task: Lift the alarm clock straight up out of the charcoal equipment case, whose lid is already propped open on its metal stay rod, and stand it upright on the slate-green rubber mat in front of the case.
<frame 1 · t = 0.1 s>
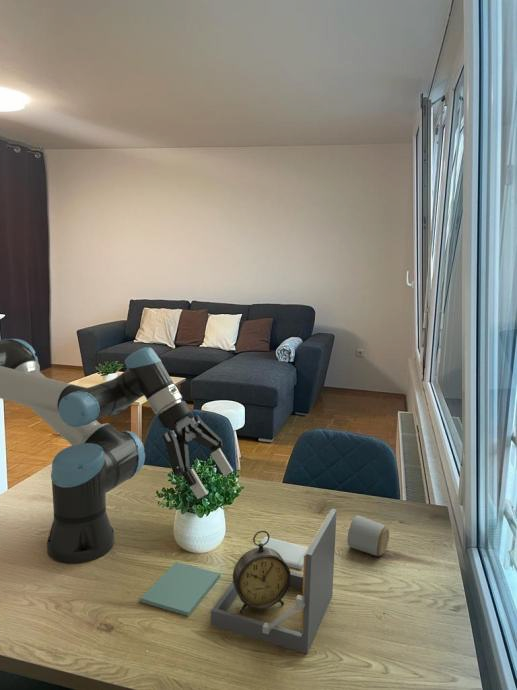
hand: (216, 484, 128), 15 cm above the table, tool tilted 35°, fingers open, 13 cm apart
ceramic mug: (368, 548, 131), on the table
alarm clock: (260, 606, 108), resting in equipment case
rubber mat: (181, 588, 113), on the table
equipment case: (274, 609, 107), on the table
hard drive: (282, 556, 127), on the table
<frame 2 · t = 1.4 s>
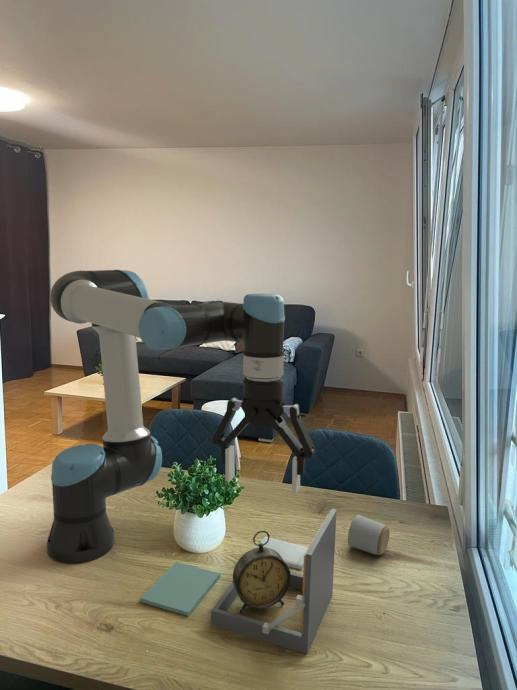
hand: (262, 484, 105), 25 cm above the table, tool pointing down, fingers open, 13 cm apart
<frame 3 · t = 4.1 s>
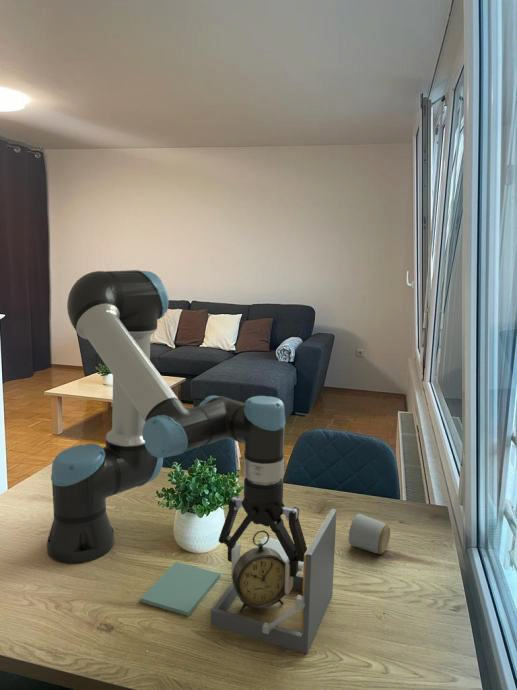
hand: (261, 582, 107), 5 cm above the table, tool pointing down, fingers closed on alarm clock, 11 cm apart
alarm clock: (259, 606, 108), resting in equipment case, touching gripper
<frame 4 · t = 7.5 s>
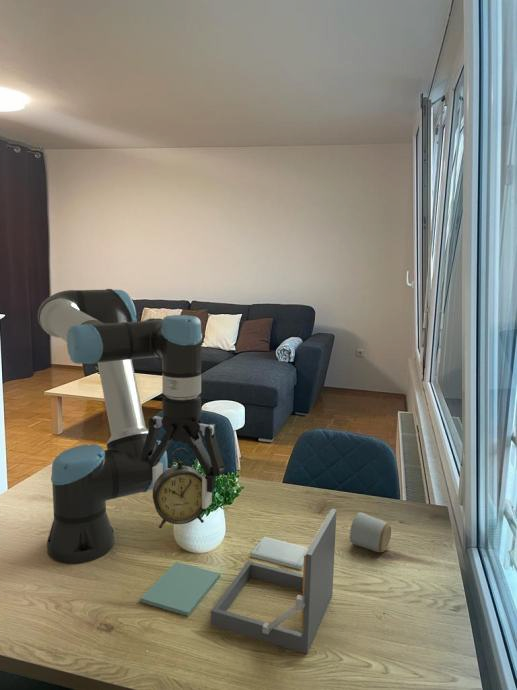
hand: (181, 500, 110), 20 cm above the table, tool pointing down, fingers closed on alarm clock, 11 cm apart
alarm clock: (180, 523, 111), point 14 cm above the table, touching gripper
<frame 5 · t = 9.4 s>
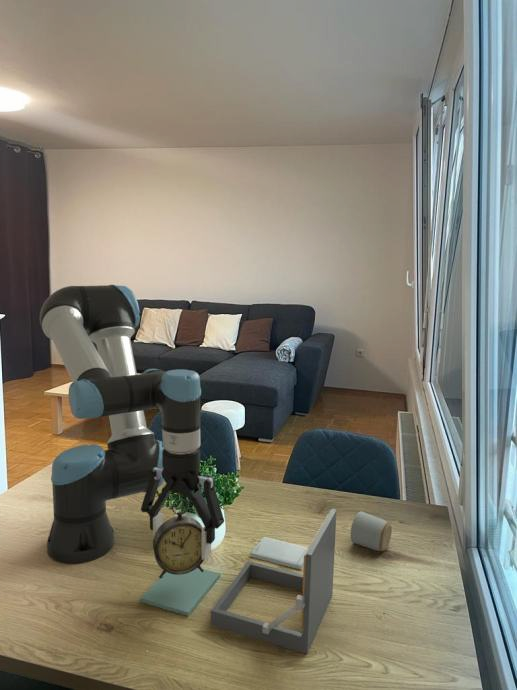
hand: (181, 550, 111), 9 cm above the table, tool pointing down, fingers closed on alarm clock, 11 cm apart
alarm clock: (180, 573, 112), point 4 cm above the table, touching gripper
when the fingers open (7 cm above the table, at t = 10.8 s): alarm clock drops 1 cm, resting on rubber mat.
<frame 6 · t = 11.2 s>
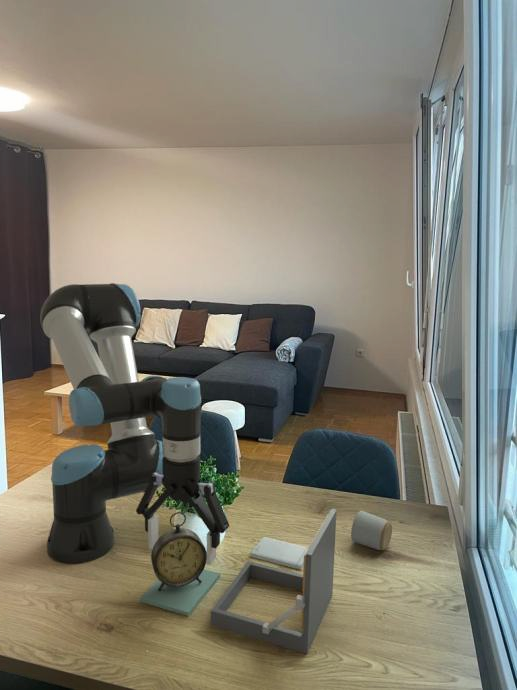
hand: (181, 553, 112), 8 cm above the table, tool pointing down, fingers open, 13 cm apart
alarm clock: (178, 585, 113), point 1 cm above the table, touching rubber mat
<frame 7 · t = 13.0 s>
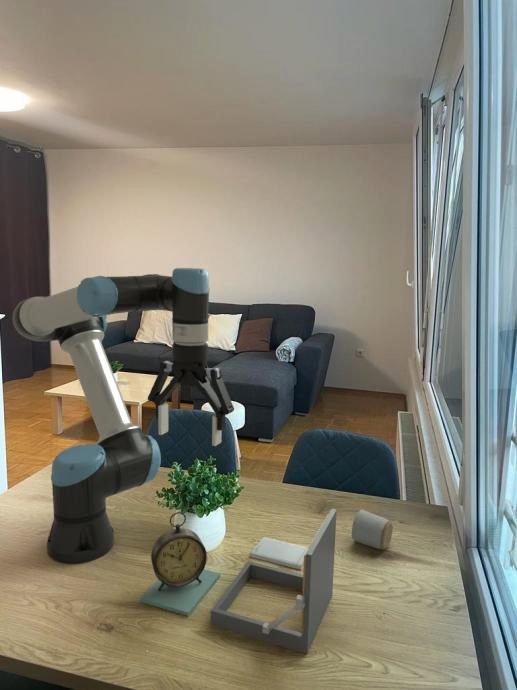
hand: (189, 438, 118), 29 cm above the table, tool pointing down, fingers open, 13 cm apart
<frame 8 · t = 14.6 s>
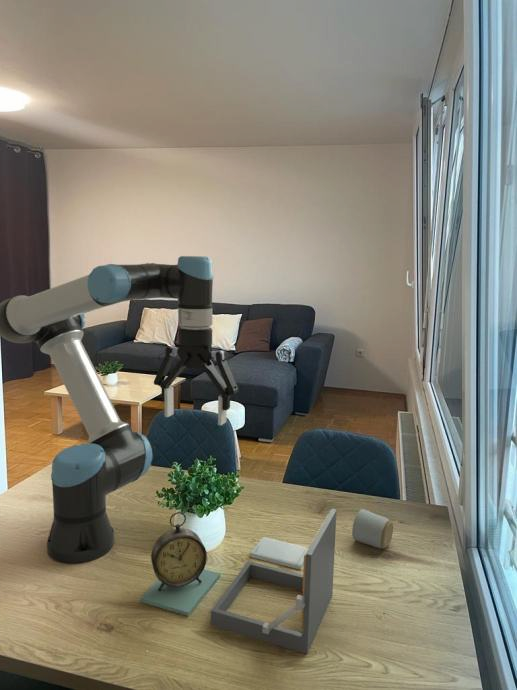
hand: (195, 419, 123), 32 cm above the table, tool pointing down, fingers open, 13 cm apart
at the end: alarm clock inside the target area on the rubber mat (0.8 cm from its centre), point 0.6 cm above the rubber mat's base; alarm clock tilted 0°; the gripper is holding nothing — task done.
